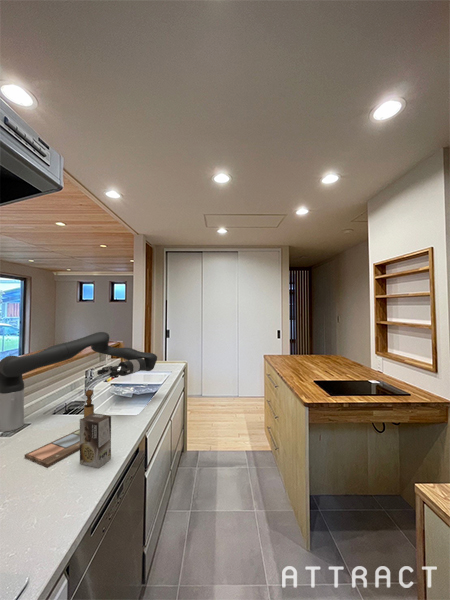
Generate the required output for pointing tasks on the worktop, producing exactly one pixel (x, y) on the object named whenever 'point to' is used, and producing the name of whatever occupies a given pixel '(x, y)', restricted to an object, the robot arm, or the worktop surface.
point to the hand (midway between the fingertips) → (103, 373)
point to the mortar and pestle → (88, 404)
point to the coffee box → (95, 440)
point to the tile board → (56, 450)
